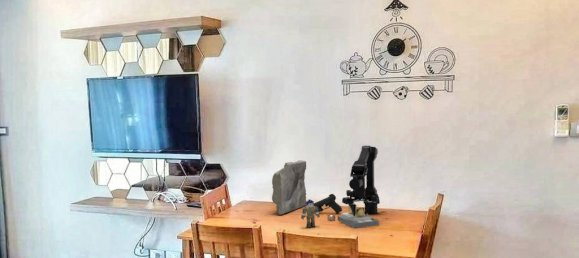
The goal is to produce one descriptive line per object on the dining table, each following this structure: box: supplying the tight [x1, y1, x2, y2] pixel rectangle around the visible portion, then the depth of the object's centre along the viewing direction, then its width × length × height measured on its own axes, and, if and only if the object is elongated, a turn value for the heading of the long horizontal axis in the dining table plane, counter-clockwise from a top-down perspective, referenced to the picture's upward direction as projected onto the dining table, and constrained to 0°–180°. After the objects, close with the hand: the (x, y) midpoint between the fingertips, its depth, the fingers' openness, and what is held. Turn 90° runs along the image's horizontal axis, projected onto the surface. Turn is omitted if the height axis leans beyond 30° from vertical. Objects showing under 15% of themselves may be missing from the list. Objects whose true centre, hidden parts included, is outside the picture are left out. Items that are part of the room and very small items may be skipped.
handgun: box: [313, 193, 343, 215], centre depth 276 cm, size 2×17×12 cm, turn 79°
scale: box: [336, 211, 380, 229], centre depth 252 cm, size 15×19×4 cm
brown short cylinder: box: [327, 213, 336, 222], centre depth 259 cm, size 4×4×3 cm
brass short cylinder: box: [348, 205, 357, 214], centre depth 257 cm, size 4×4×4 cm
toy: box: [300, 199, 321, 229], centre depth 244 cm, size 10×4×15 cm, turn 114°
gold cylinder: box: [356, 206, 365, 217], centre depth 249 cm, size 4×4×4 cm
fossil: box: [271, 159, 307, 215], centre depth 287 cm, size 34×9×30 cm, turn 153°
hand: (360, 215), depth 250 cm, fingers open, 7 cm apart
